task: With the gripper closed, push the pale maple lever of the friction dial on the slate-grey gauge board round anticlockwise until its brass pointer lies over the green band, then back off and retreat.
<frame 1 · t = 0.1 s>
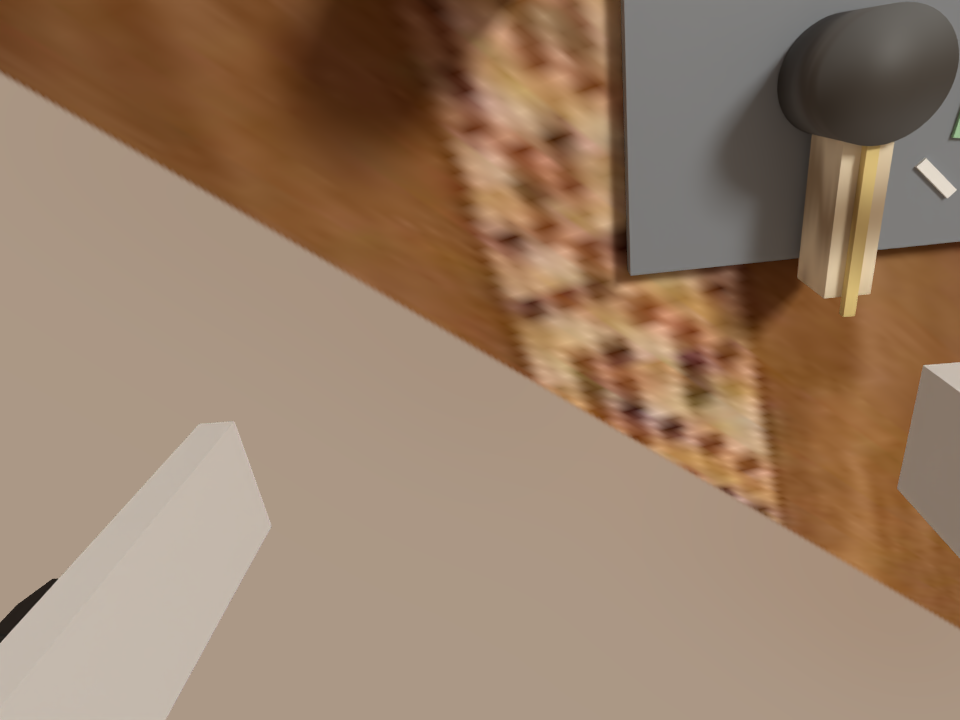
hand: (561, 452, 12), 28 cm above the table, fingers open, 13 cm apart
dial lever: (847, 169, 32), point 4 cm above the table, hinge at 0.0°
gauge board: (825, 75, 33), on the table
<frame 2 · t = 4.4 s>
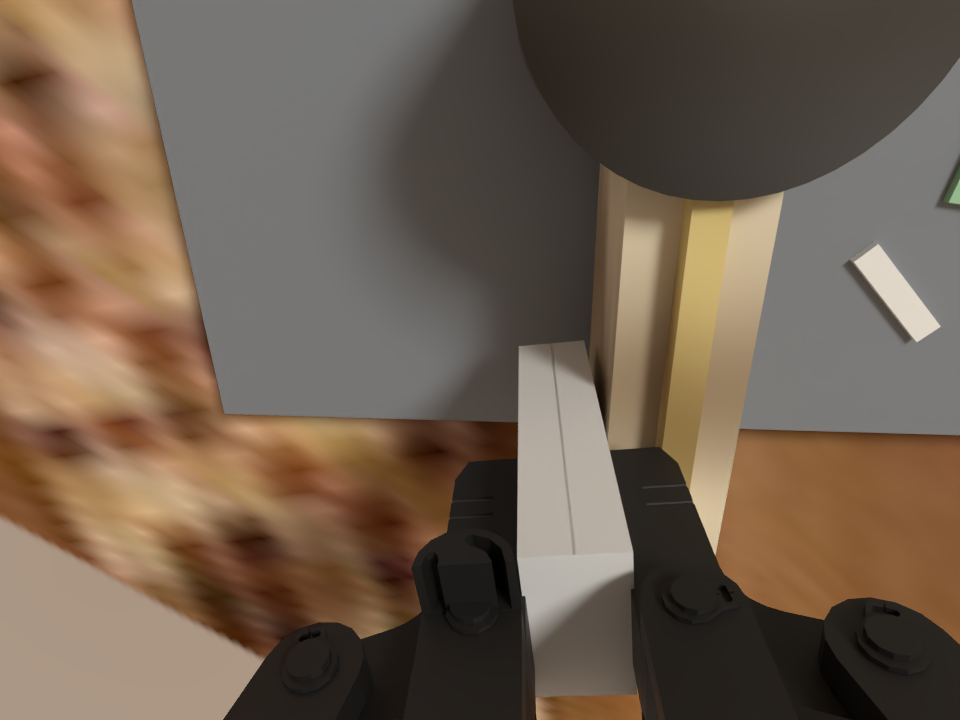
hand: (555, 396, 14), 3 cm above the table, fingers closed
dial lever: (670, 254, 12), point 4 cm above the table, hinge at 1.4°, touching gripper
gauge board: (654, 2, 13), on the table
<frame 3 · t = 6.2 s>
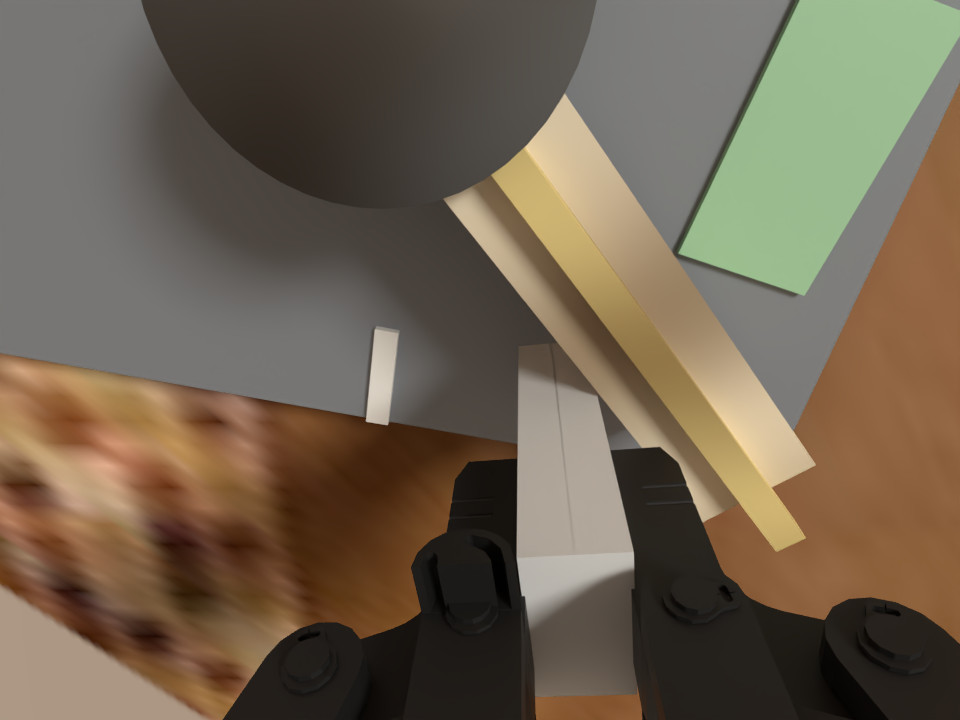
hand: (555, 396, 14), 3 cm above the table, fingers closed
dial lever: (558, 210, 11), point 4 cm above the table, hinge at 48.1°, touching gripper
gauge board: (430, 12, 13), on the table
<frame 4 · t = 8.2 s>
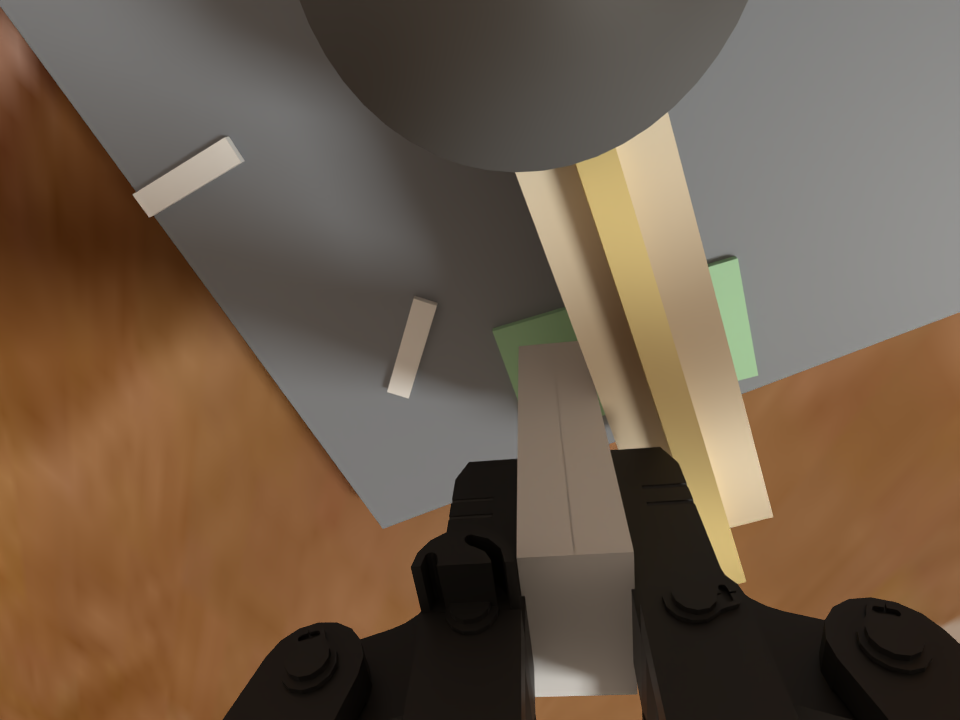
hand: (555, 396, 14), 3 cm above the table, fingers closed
dial lever: (606, 216, 11), point 4 cm above the table, hinge at 85.0°, touching gripper
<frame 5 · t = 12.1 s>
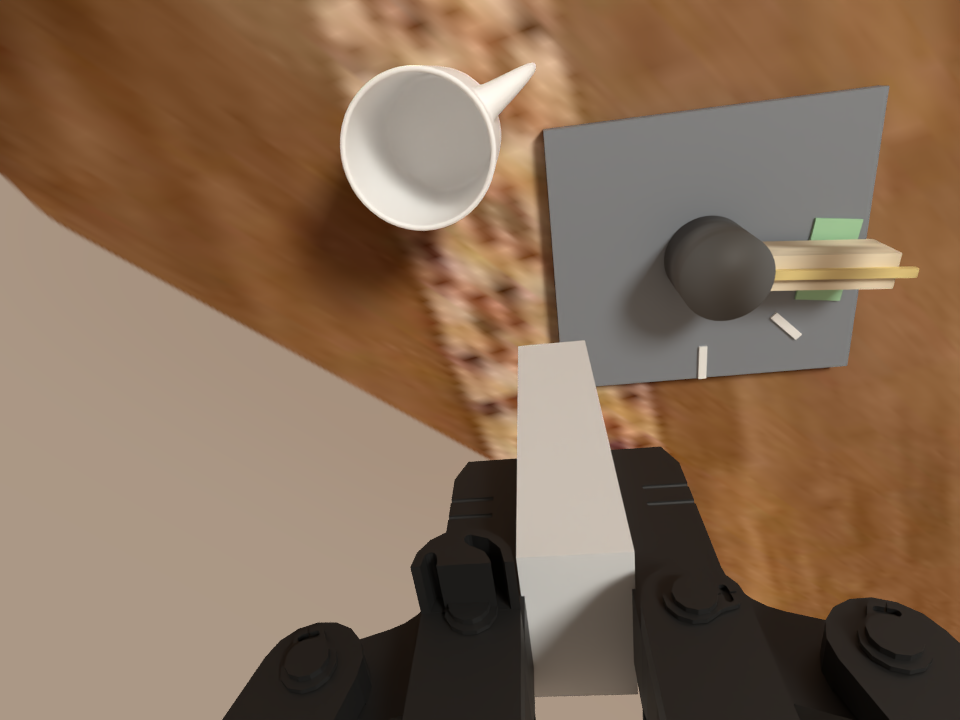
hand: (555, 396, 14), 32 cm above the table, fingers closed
mug: (461, 119, 42), on the table
dial lever: (783, 265, 41), point 4 cm above the table, hinge at 85.1°
gauge board: (701, 252, 45), on the table
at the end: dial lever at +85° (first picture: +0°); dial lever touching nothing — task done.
